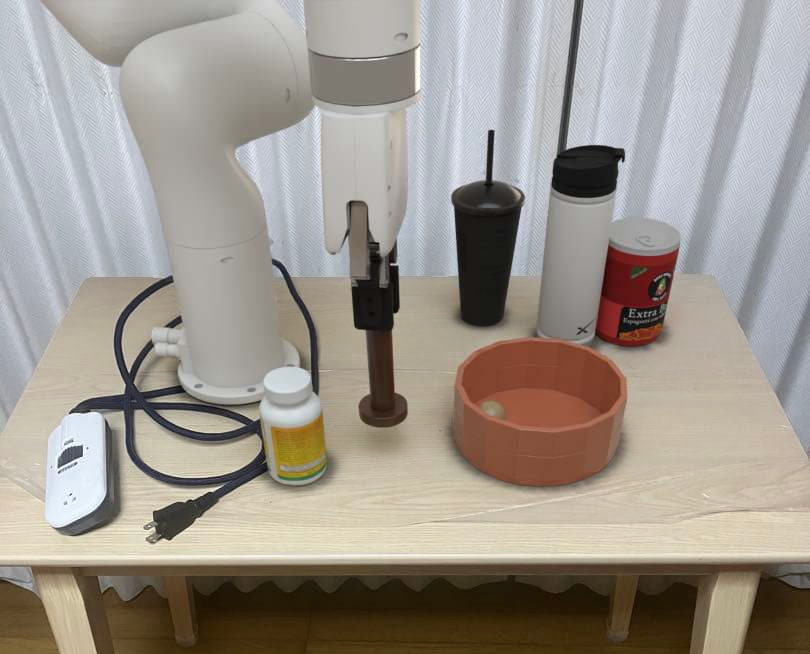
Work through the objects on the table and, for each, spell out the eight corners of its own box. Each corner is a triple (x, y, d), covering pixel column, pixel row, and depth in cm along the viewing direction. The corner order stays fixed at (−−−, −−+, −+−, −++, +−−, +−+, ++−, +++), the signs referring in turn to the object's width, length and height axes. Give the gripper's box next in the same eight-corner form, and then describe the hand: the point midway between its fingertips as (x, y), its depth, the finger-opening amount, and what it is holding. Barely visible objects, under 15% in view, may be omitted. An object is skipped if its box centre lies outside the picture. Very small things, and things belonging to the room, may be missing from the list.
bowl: (445, 478, 77) (446, 423, 73) (463, 385, 88) (465, 332, 84) (618, 493, 75) (629, 437, 71) (615, 396, 86) (624, 342, 82)
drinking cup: (508, 336, 95) (522, 147, 81) (441, 328, 96) (443, 140, 83) (521, 304, 100) (536, 121, 86) (457, 296, 102) (462, 115, 88)
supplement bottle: (256, 469, 78) (241, 378, 72) (302, 443, 81) (291, 354, 75) (294, 496, 76) (281, 404, 69) (340, 468, 78) (332, 378, 72)
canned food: (621, 355, 91) (639, 256, 84) (575, 322, 97) (588, 226, 89) (677, 336, 94) (698, 238, 87) (629, 305, 99) (645, 210, 92)
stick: (354, 426, 76) (340, 264, 66) (364, 398, 79) (353, 240, 69) (403, 429, 76) (397, 267, 65) (411, 401, 79) (407, 243, 68)
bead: (465, 411, 81) (483, 389, 79) (491, 421, 83) (509, 400, 81) (470, 434, 80) (488, 412, 78) (496, 443, 81) (515, 422, 79)
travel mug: (595, 358, 91) (625, 163, 77) (533, 352, 92) (551, 159, 78) (597, 328, 96) (626, 139, 82) (538, 323, 97) (556, 136, 83)
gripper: (336, 43, 65) (352, 273, 77) (281, 110, 53) (310, 368, 66) (435, 44, 64) (435, 278, 76) (401, 113, 52) (407, 375, 65)
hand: (377, 318), depth 71 cm, fingers closed on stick, 2 cm apart
